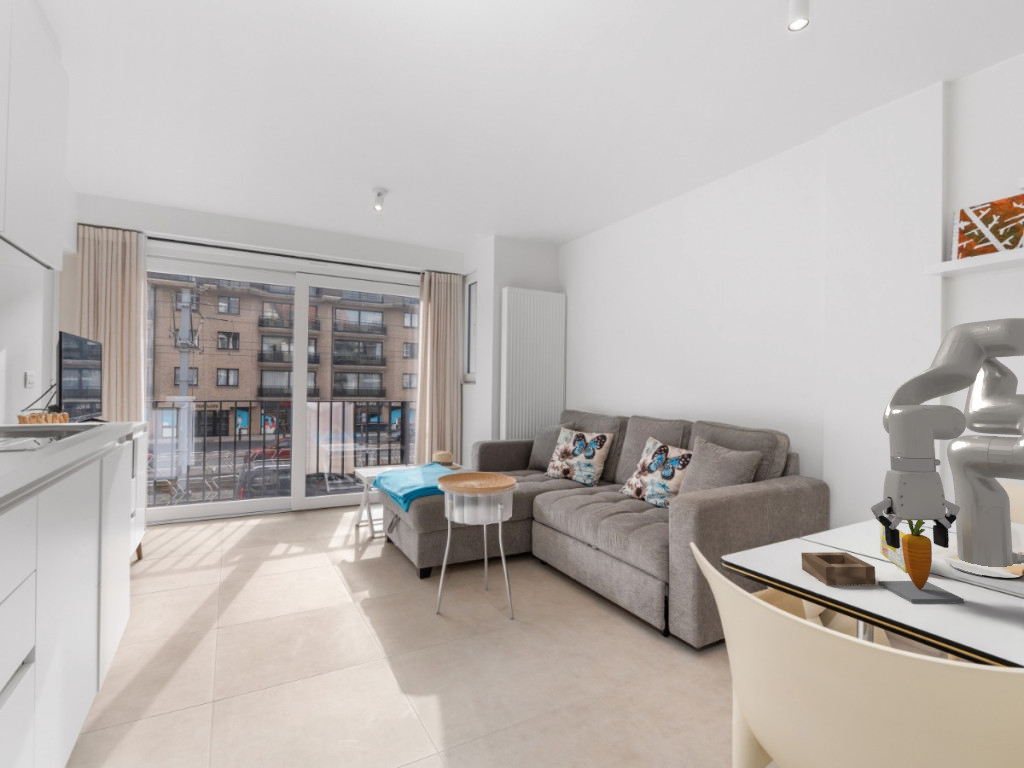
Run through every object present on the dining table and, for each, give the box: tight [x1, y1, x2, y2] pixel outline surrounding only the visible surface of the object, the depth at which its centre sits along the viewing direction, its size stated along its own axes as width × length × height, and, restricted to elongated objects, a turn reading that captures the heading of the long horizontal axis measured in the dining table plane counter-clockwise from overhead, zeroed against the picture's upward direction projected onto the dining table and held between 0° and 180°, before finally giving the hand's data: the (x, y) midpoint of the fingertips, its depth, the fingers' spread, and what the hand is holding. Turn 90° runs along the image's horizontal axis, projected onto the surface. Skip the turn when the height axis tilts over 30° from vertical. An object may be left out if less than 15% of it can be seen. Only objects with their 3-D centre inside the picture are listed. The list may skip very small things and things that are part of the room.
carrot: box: [902, 520, 933, 590], centre depth 106 cm, size 5×5×15 cm
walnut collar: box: [800, 551, 877, 586], centre depth 116 cm, size 10×10×4 cm
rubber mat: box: [877, 580, 965, 604], centre depth 106 cm, size 10×10×1 cm
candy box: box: [879, 522, 908, 574], centre depth 125 cm, size 16×2×8 cm, turn 161°
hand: (917, 546), depth 106 cm, fingers open, 9 cm apart
